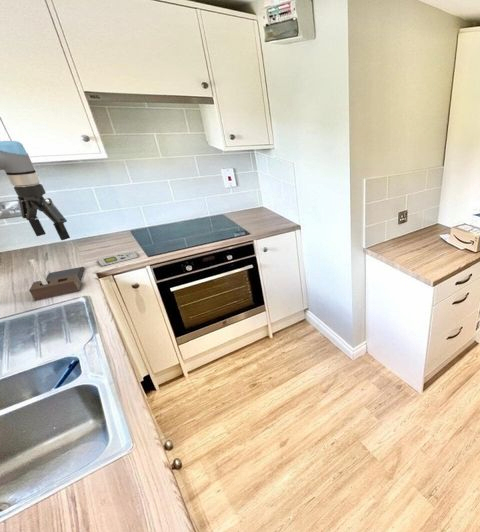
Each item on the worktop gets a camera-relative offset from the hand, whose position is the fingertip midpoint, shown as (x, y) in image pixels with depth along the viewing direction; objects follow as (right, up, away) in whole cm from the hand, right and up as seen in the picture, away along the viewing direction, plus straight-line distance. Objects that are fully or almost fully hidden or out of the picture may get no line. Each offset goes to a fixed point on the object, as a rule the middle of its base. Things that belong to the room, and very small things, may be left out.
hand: (53, 237), depth 131 cm
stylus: (-7, -24, +5) cm, 25 cm away
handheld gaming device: (-5, -8, +35) cm, 37 cm away
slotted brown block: (-5, -23, +7) cm, 24 cm away
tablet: (-13, -18, +17) cm, 28 cm away
